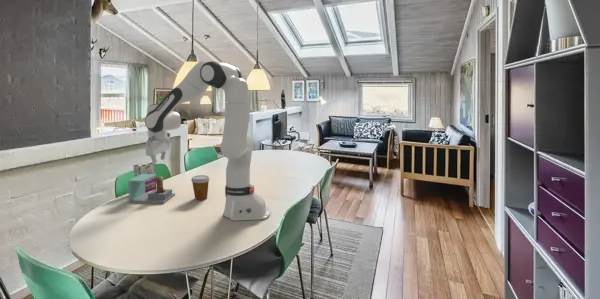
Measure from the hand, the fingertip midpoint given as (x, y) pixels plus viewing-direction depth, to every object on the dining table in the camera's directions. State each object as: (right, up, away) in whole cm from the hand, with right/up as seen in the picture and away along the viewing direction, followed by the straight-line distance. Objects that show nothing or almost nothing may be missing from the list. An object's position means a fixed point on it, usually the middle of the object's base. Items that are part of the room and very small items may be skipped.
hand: (158, 161), depth 169 cm
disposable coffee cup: (+20, -21, +6) cm, 30 cm away
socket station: (-5, -21, +4) cm, 21 cm away
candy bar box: (-15, -18, +18) cm, 30 cm away
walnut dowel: (-1, -19, +3) cm, 20 cm away
